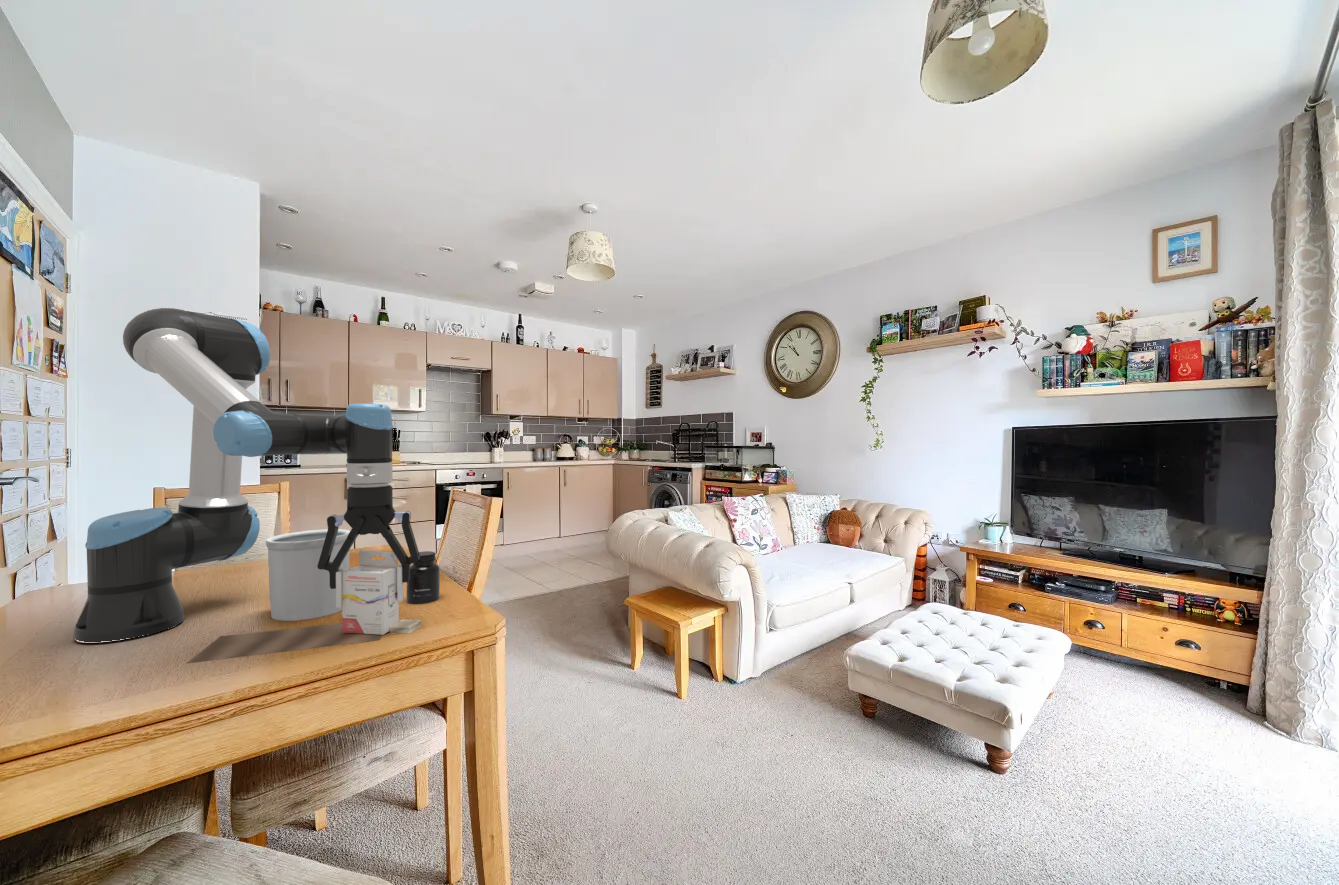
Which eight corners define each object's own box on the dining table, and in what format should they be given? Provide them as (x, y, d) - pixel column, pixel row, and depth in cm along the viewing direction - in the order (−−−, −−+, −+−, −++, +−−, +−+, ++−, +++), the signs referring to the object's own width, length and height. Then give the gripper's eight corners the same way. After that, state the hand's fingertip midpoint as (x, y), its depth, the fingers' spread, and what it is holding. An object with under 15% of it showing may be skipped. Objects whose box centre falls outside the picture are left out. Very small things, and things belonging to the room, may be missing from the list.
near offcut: (389, 635, 97) (389, 627, 97) (402, 627, 101) (402, 619, 101) (409, 635, 97) (409, 627, 97) (421, 627, 101) (421, 619, 101)
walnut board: (186, 672, 84) (185, 663, 84) (220, 644, 95) (220, 636, 95) (379, 648, 94) (379, 639, 94) (390, 625, 105) (390, 617, 105)
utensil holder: (249, 623, 106) (249, 538, 106) (321, 601, 120) (320, 526, 120) (298, 633, 101) (297, 544, 101) (367, 609, 115) (366, 530, 115)
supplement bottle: (418, 613, 112) (417, 558, 112) (400, 607, 116) (399, 554, 116) (446, 604, 118) (446, 552, 118) (428, 599, 122) (428, 548, 122)
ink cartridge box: (340, 633, 96) (339, 555, 96) (359, 624, 101) (358, 549, 101) (383, 635, 96) (382, 556, 95) (400, 625, 101) (399, 550, 100)
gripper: (294, 488, 91) (295, 615, 91) (431, 484, 98) (432, 601, 99) (308, 485, 98) (309, 602, 98) (435, 481, 105) (436, 590, 106)
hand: (371, 602), depth 98 cm, fingers closed on ink cartridge box, 9 cm apart
